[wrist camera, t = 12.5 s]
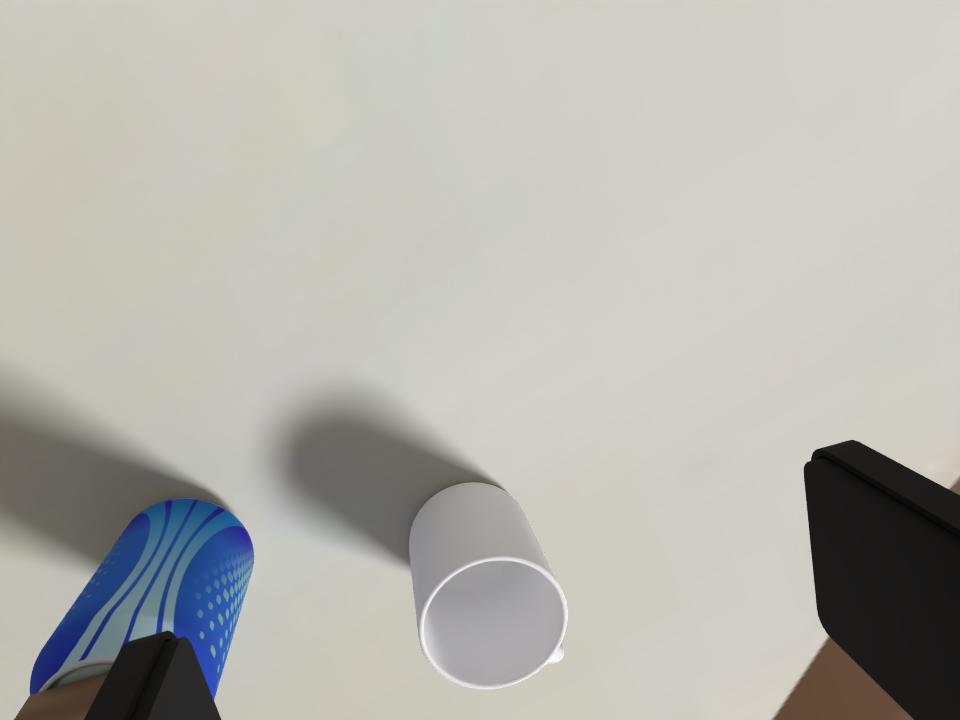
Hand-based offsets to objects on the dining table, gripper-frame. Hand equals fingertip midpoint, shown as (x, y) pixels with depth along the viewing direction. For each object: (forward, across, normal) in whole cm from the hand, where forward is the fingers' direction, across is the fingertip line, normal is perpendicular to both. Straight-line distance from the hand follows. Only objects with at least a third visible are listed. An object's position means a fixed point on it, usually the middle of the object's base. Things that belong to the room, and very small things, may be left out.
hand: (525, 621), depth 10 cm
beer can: (+36, +18, +14) cm, 43 cm away
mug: (+36, -1, +20) cm, 42 cm away
